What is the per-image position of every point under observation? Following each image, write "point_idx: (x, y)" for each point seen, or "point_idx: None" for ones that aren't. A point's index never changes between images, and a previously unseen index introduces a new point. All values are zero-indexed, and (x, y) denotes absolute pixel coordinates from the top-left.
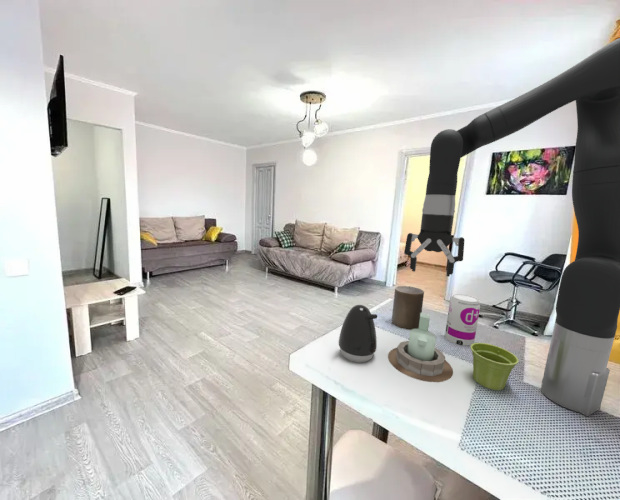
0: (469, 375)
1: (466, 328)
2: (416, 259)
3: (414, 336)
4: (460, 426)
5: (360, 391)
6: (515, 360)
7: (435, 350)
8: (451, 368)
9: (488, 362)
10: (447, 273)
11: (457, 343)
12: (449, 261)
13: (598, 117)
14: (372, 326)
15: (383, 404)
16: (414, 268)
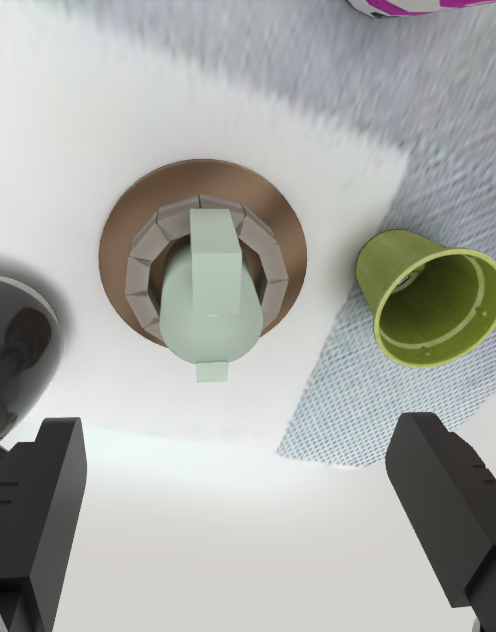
0: (354, 234)
1: (447, 9)
2: (44, 577)
3: (182, 358)
4: (287, 418)
5: (87, 426)
6: (492, 311)
7: (260, 249)
8: (304, 254)
9: (401, 354)
10: (399, 488)
11: (375, 14)
12: (476, 611)
13: None
14: (17, 415)
15: (145, 435)
16: (75, 507)
